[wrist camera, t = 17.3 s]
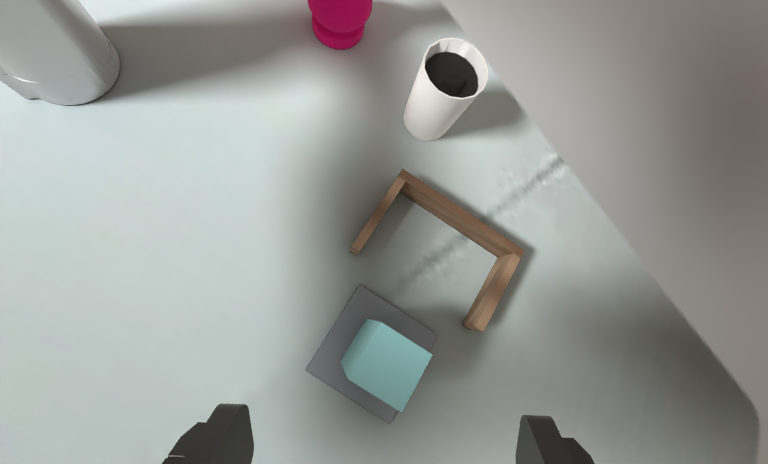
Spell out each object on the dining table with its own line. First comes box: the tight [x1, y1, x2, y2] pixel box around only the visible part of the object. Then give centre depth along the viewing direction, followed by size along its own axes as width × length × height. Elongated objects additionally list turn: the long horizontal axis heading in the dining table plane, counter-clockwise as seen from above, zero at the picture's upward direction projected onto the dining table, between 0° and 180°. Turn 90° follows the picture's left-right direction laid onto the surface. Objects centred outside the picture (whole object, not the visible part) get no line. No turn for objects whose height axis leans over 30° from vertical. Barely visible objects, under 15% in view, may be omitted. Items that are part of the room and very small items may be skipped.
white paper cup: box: [403, 38, 488, 141], centre depth 40 cm, size 7×7×10 cm
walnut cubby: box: [349, 169, 524, 332], centre depth 40 cm, size 10×16×4 cm, turn 58°
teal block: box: [340, 318, 432, 413], centre depth 33 cm, size 5×5×9 cm
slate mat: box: [306, 285, 438, 424], centre depth 38 cm, size 10×10×1 cm
